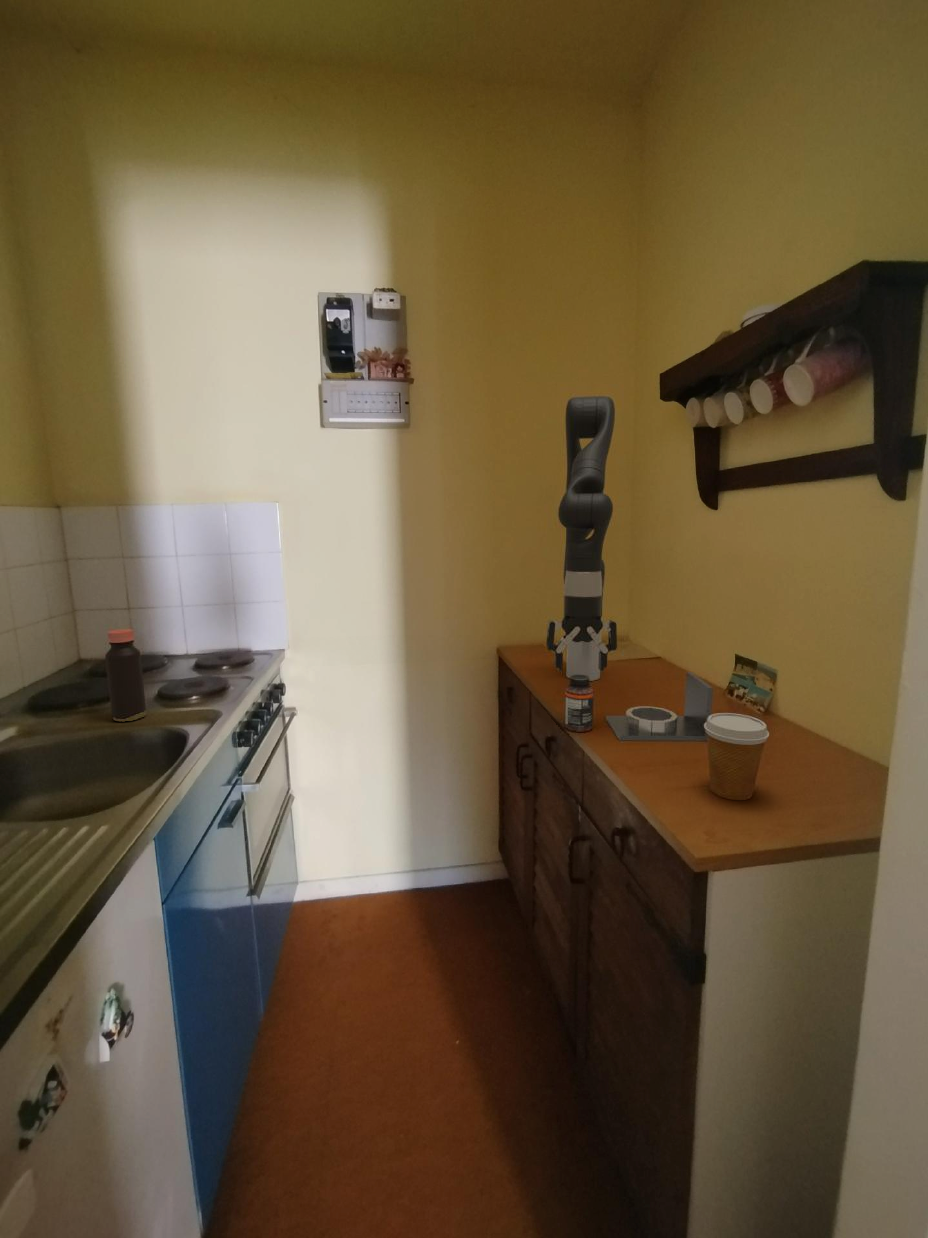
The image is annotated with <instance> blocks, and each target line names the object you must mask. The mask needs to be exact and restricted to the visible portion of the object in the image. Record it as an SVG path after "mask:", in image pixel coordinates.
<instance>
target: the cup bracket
mask: <svg viewBox="0 0 928 1238" xmlns="http://www.w3.org/2000/svg"><path fill="white" fill-rule="evenodd" d="M685 679H686V680H685V681H686V682H685V695H684V696H685V697H684V709H683V710H684V711H683V715H677V714H676V713H675V712H674V711H671V710H669V709H667V708H663V707H656V706H650V705H649V706H647V705H646V706H644V705H643V706H634V707H630V708H628V709H627V710H626V711H625V715H606V717H605V718H606V719H605V720H606V722H607V723H608V725H609V727H610V728H611V729H612V732H614V734H615V736H616V738H617V740H618V741H643V742H644V741H648V742H649V741H658V742H659V741H661V742H662V741H663V742H665V741H672V742H673V741H676V742H679V741H680V742H685V741H686V742H690V741H691V742H707V733H706V731H705V728H704V724H705V723H706V722H707V719H708V717H709V716H710V715H712V712H713V711H712V710H713V699H714V698H713V697H714V687H713V686H712V685H710V684H708V682H705V680H703V679H702V678H700V677H699V676H697V675H696V674H695V673H694V672H691V671H687V672H686V678H685Z"/></svg>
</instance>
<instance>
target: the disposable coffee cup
mask: <svg viewBox="0 0 928 1238" xmlns="http://www.w3.org/2000/svg"><path fill="white" fill-rule="evenodd" d="M704 728H705V731H706V733H707V741H706V743H707V745H706V746H707V758H708V771H709V772H708V774H709V789H710V791H711V792H712V793H713V794H715V796H718V797H721V798H723V799H727V800H730V801H731V800H732V801H745V800H748V799H751V798H752V797H753V793H754V788H755V785H756V781H757V776H758V772H759V768H760V765H761V764H760V763H761V759H762V755H763V751H764V747H765V742H767V740H768V738H769V736H770V732H769V731H768V728H767V724H766V723H765V722H764V721H763V720H761V719H759V718H756V717H753V716H750V715H747V714H740V713H731V712H719V713H713V714H711V715H710V716H709V717H708V719H707V722H706V723H705V724H704Z"/></svg>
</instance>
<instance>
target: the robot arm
mask: <svg viewBox="0 0 928 1238" xmlns="http://www.w3.org/2000/svg"><path fill="white" fill-rule="evenodd" d="M615 414H616V409H615V402H614V400H613V399H612V398H611V397H609V396H603V395H599V396H596V395H595V396H574V397H571V398H569V399H568V400H567V403H566V407H565V417H564V419H565V441H566V442H565V443H566V444H565V445H566V482H565V483H566V487H565V493H564V494H563V496H562V499H561V501H560V502H559V506H558V510H557V511H558V520H559V523H560V524H561V526H563V527H564V528H565V548H564V549H565V551H564V562H563V584H564V585H563V586H564V589H563V590H564V593H563V595H564V596H563V618H562V621H557V620H555V621H554V620H552V619H550V620H548V621H547V631H546V632H547V633H546V643H545V644H546V645H545V646H546V648H547V650H548V651H552V652H554V665H555V667H556V669H557V670H558V671H559V672H562V671H563V669H564V668H563V665H564V664H563V663H564V654H563V651H564V649H566V671H565V673H566V674H565V675H566V676H565V677H566V678H568V679H570V676H572V675H586V676H588V677H589V682H593V681H597V680H599V679H600V677H601V672H603V671H604V670H605V669H607V666H608V654H609V652H611V651H616V650H617V648H618V638H617V637H618V634H617V633H618V632H617V622H615V621H614V620H612V619H610V620H608V621H603V600H604V599H603V597H604V585H605V575H606V567H605V562H604V559H603V549H604V543H605V537H606V534H607V530H608V529H609V525H610V522H611V520H612V516H613V512H614V511H613V510H614V505H613V502H612V499H611V497H609V495H608V494H606V493H604V489H605V481H606V467H607V459H608V454H609V452H610V447H611V442H612V438H613V434H614V433H613V432H614V427H615V417H616V416H615ZM581 439H584V440H585V439H591V441H589V443H588V444H586V445H585V446H584V447H583V448H582V444H581V442H580V441H581ZM591 533H592V534H591ZM590 534H591V536H589V535H590ZM560 628H562V630H563V631H564V634H563V635H562V636H561V638H560V640H559V641H558V643H557V644H554V643H555V633H556V632H558V631H559V629H560ZM603 628H604V630H605V631H606V632H607V634H608V636H607V637H608V638H607V639H608V640H607V641H608V643H607V644H605V643H604V642H603V640H602V632H603V631H602V630H603Z"/></svg>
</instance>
